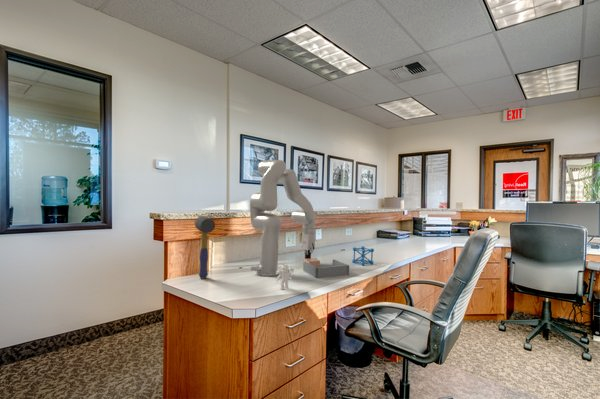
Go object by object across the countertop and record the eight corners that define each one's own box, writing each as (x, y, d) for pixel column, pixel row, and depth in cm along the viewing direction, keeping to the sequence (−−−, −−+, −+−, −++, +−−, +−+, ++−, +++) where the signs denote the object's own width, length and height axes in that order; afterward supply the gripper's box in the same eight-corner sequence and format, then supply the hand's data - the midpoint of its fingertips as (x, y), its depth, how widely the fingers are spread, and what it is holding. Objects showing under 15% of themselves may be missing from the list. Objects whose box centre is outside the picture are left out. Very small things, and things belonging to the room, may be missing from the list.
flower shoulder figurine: (278, 291, 133) (279, 264, 133) (273, 288, 136) (274, 262, 136) (294, 287, 139) (295, 261, 139) (289, 285, 142) (290, 259, 142)
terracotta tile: (308, 268, 177) (309, 261, 177) (304, 265, 184) (304, 258, 183) (319, 267, 179) (320, 260, 179) (315, 264, 186) (315, 258, 186)
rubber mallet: (214, 280, 146) (216, 217, 145) (198, 282, 142) (200, 217, 141) (207, 274, 156) (209, 215, 156) (192, 275, 152) (193, 215, 152)
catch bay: (316, 277, 156) (316, 268, 156) (303, 270, 170) (303, 261, 170) (348, 274, 165) (349, 265, 165) (333, 267, 179) (334, 259, 178)
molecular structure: (362, 261, 200) (362, 245, 199) (374, 264, 192) (374, 248, 191) (351, 262, 194) (351, 247, 194) (363, 266, 186) (363, 249, 185)
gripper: (297, 229, 191) (296, 258, 191) (309, 232, 178) (308, 264, 178) (308, 229, 194) (307, 257, 195) (320, 232, 181) (319, 263, 181)
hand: (307, 260), depth 186 cm, fingers closed
